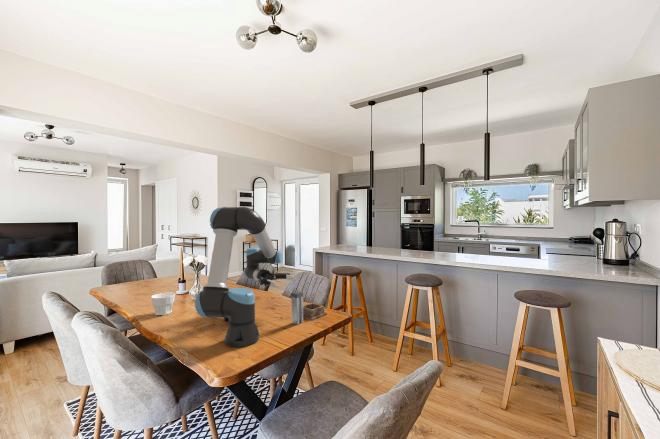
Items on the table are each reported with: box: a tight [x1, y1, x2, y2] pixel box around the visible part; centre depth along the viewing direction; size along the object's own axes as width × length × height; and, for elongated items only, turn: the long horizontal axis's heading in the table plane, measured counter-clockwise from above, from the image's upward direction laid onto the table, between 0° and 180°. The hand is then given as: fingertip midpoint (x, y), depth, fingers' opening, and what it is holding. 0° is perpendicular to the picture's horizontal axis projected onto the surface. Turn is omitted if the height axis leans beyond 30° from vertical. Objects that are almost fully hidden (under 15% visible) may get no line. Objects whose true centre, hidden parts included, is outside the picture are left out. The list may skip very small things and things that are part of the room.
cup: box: [150, 291, 176, 315], centre depth 174 cm, size 12×12×11 cm
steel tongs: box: [291, 290, 304, 325], centre depth 157 cm, size 4×6×16 cm
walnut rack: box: [303, 302, 328, 321], centre depth 167 cm, size 12×12×5 cm
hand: (284, 281), depth 162 cm, fingers open, 13 cm apart
